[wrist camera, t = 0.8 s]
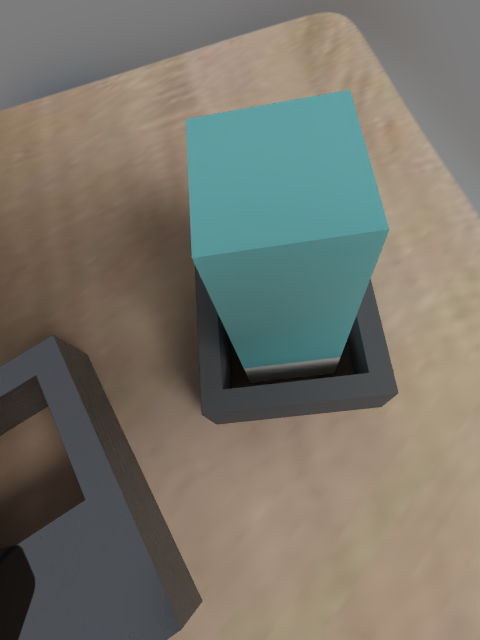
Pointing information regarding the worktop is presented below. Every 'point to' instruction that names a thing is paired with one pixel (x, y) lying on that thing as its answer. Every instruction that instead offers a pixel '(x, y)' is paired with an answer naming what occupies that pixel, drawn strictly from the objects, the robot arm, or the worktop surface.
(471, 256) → the worktop surface
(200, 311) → the holster
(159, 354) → the worktop surface
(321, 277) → the plug
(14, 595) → the robot arm
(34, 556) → the port
